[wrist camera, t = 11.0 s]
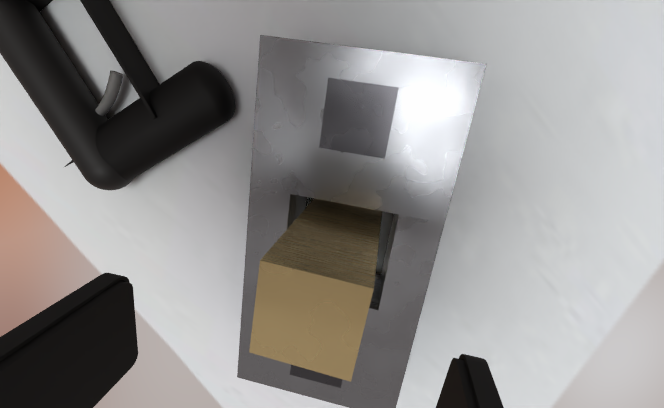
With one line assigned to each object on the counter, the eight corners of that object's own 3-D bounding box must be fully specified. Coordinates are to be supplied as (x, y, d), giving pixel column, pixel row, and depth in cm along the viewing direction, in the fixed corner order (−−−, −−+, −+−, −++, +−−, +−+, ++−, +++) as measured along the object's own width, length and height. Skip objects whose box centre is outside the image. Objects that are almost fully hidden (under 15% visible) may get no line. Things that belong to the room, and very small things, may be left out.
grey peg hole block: (287, 49, 19) (259, 34, 15) (466, 73, 17) (487, 63, 14) (261, 336, 25) (236, 378, 21) (392, 369, 23) (392, 420, 20)
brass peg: (320, 191, 21) (260, 260, 11) (382, 204, 20) (373, 288, 11) (311, 247, 22) (249, 352, 13) (369, 261, 21) (350, 381, 12)
